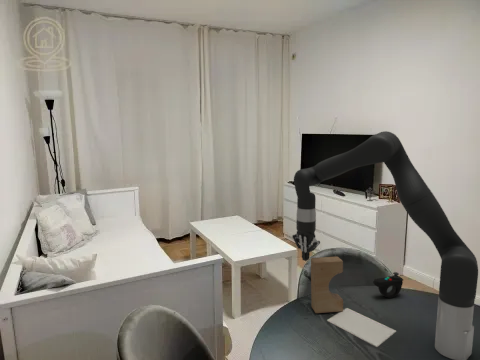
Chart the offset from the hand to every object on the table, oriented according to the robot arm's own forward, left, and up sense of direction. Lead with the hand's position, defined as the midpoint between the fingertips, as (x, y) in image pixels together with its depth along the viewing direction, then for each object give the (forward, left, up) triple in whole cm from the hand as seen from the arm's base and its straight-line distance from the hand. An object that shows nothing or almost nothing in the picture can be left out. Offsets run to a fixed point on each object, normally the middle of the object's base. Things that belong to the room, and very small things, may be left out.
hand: (305, 259), depth 137 cm
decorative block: (-11, 0, -17) cm, 20 cm away
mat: (-25, 0, -17) cm, 30 cm away
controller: (-21, -27, -17) cm, 38 cm away
